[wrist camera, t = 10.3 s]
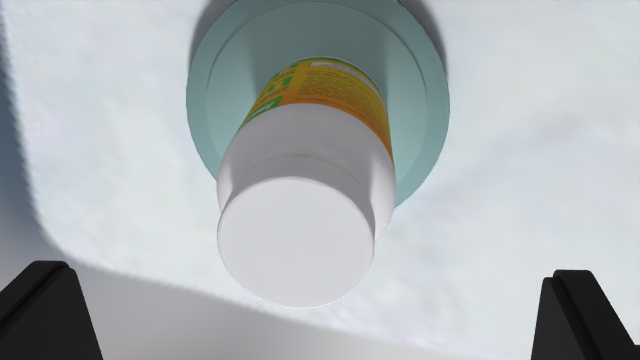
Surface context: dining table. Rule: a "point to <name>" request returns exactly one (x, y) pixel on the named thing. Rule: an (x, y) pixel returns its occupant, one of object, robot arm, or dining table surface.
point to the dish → (321, 40)
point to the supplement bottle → (307, 185)
